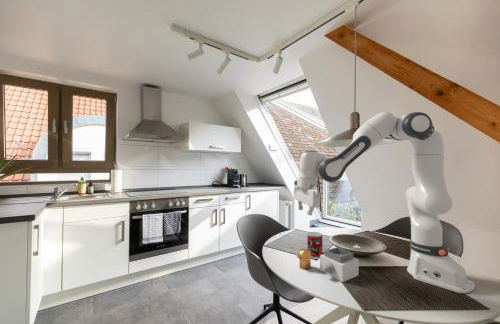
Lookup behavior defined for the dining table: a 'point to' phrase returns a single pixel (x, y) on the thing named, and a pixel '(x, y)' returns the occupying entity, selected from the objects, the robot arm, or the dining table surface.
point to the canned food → (314, 243)
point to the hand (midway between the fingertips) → (304, 212)
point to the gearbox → (339, 264)
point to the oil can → (304, 259)
